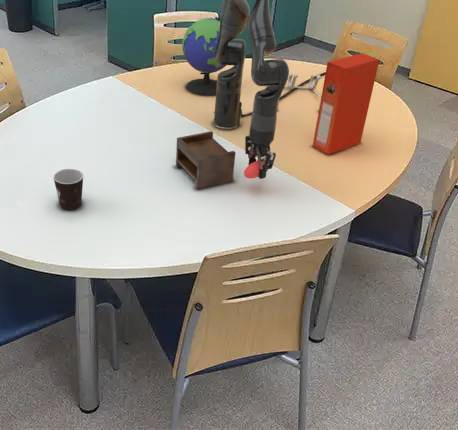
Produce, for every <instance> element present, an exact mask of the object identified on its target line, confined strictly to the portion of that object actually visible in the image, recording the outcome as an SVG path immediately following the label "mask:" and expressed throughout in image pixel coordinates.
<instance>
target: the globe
mask: <svg viewBox="0 0 458 430" xmlns="http://www.w3.org/2000/svg"><path fill="white" fill-rule="evenodd" d="M219 30H220V18H219V17H217V16H214V18H213V17H205V18H201V19H198V20H196V21H194V22H193V23H192V24H191V25H190V26H189V27H188V28H187V29H186V31H185V32H184V34H183V38H182V42H181V43H182V44H181V51H182V54H183V56H184V57H185V60H186V62H187V63H188V64H189V66H190V67H192V68H193V69H194V70H196V71H198V72H200V73H199V74H200V75H204V76H203V77H202V78H196V79H192V80H190V81H188V83H186V85H185V89H186V90H187V91H188V92H189V93H191V94H193V95H196V96H201V97H216V87H217V79H212V78H211V75H210V74H212V73H216V72H219V71H221V70H223V69H224V68H226V67H227V66H228V65H221V64H218V63H217V62H216V59H215V49H216V44H217V40H218V35H219Z"/></svg>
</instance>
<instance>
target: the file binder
mask: <svg viewBox="0 0 458 430" xmlns="http://www.w3.org/2000/svg"><path fill="white" fill-rule="evenodd" d="M379 64H380V59H379V58H377V57H374V56H371V55H368V54H366V53H357V54H353V55H349V56H346V57H341V58H338V59H334V60H331V61H327V64H326V69H325V72H326V74H324V80H323V84H322V90H321V91H322V92H321V95H320V96H321V98H320V99H321V100H320V102H319V107H318V113H317V120H316V123H315V131H314V136H313V142H312V148H314V149H316V150H317V151H320V152H321V153H323V154H325V155H331V154H335V153H337V152H340V151H343V150H345V149H348V148H352V147H354V146H357V145H358V144H359V145H360V144H361V142H362V138H363V134H364V129H365V125H366V120H367V117H368V112H369V108H370V104H371V99H372V94H373V90H374V85H375V82H376V76H377V73H378V68H379Z"/></svg>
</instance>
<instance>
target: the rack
mask: <svg viewBox="0 0 458 430" xmlns="http://www.w3.org/2000/svg"><path fill="white" fill-rule="evenodd" d="M175 149H176V151H175V168H176V169H181V168H183V170H184V171H186V173H187V174H188V175H189V176H190V177H191V178H192V179H193V180H194V181H195V189H196V190H197V191H199V190H204V189H207V188H212V187H217V186H222V185H224V184H229V183H233V179H234V171H235V161H236V151H235V150H231V151H228V150H227V149H226V148H225V147H224V146H222V145H221V144H220V143H219V142H218V141H217V140H216V139H214V132H213V131H212V130H211V131H210V130H209V131H206V132H200V133H194V134H189V135H184V136H179V137H176V148H175Z"/></svg>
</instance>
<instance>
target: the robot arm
mask: <svg viewBox="0 0 458 430" xmlns="http://www.w3.org/2000/svg"><path fill="white" fill-rule="evenodd" d="M220 12H221V13H220V18H219V19H220V30H219V35H218V40H217V44H216V49H215V59H216V62H217V63H218V64H221V65H227V66H232V67H231V68H227V69H225V70H223V71H220V72H219V73H218V74H217V77H216V80H217V87H216V96H215V102H214V111H213V114H214V115H213V126H214V127H215V128H217V129H220V130H227V131H230V130H234V129H236V128H238V127H240V124H241V118H244V117H249V116H251V117H250V124H249V132H248V133H249V134H248V135H246V136H245V137H244V140H245V141H244V153H245V155H247V158H248V165H250V164H251V163H253V162H255V161H257V160H258V162H259V163H260V169H259V176H258V177H257V178H258V179H259V180H263V179H265V178H267V172H268V171H269V170H272V169H273V166H274V163H275V160H276V157H277V155H276V153H275V152H272V151H271V144H272V143H273V142H274V140H275V133H276V126H277V119H278V118H277V116H278V115H277V114H278V110H277V107H278V108H279V105H278V101H279V102H280V101H281V100H282V99H283V98H285V97H286V96H288V95H289V94H291V93H292V92H294V91H295V90H297V89H298V88H292V89H291V90H289V91H287V92H286V93H284V94H283V91H284V89H285V88H286V87H285V86H287V85H286V84H287V83H288V80H289V74H290V68H289V65H288V63H287V62H286V60H284V59H282V58H276V59H275V58H274V59H265V56H269V55H271V54H273V53H274V52H275V51H276V50H277V42H276V41H277V40H276V37H275V33H274V28H273V24H272V19H271V13H270V1H269V0H255V1H254V4H253V7H252V10H251V8H250V5H249V3H248V1H247V0H222V5H221V10H220ZM246 29H247V35H248V39H249V43H250V48H251V67H250V68H251V70H250V77H251V80H252V82H253V84H255V85H256V86H258V87H265V88H263V89H260V90H257V92H255V94H254V100H253V107H252V111H251V112H249V113H247V114H243V109H242V107H243V103H242V102H241V95H242V84H243V83H242V82H243V75H244V74H243V73H244V66H245V59H246V55H247V54H246V53H247V43H246V41H245V40H244V39H242V38H241V39H240V38H237V37H239V36H240V35H241V34H243V32H244V31H245V30H246ZM325 74H326V71H325V72H322V73H319V74H318V75H320V76H321V77H322V76H325ZM316 77H317V75H315V77H314V79H313V80H316ZM310 79H311V77H310V78H309V79H307V80H305V81H303V82H301V83H299V84H298V85H297V86H300V87H303V86H304V85H305V84H307V83H310ZM268 85H269V86H268ZM282 94H283V95H282ZM263 161H265V163H264V165H263ZM248 165H247V166H248ZM267 170H268V171H267Z"/></svg>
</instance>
